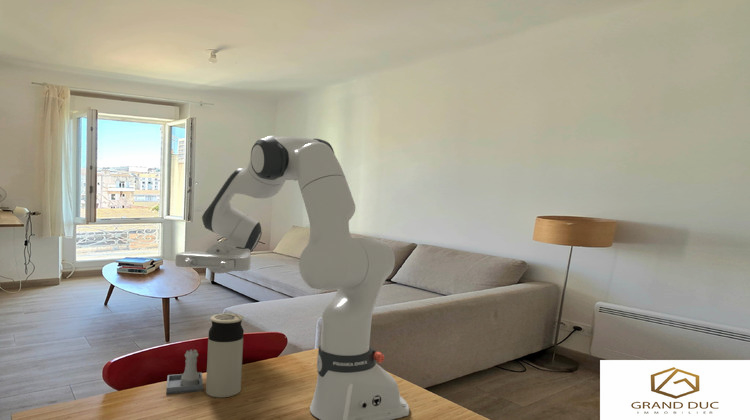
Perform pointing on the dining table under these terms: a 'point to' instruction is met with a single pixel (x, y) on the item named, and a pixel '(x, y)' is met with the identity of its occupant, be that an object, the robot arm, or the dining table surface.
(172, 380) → the tray
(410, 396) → the dining table surface
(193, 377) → the rook chess piece
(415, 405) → the dining table surface
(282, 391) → the dining table surface
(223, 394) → the travel mug
